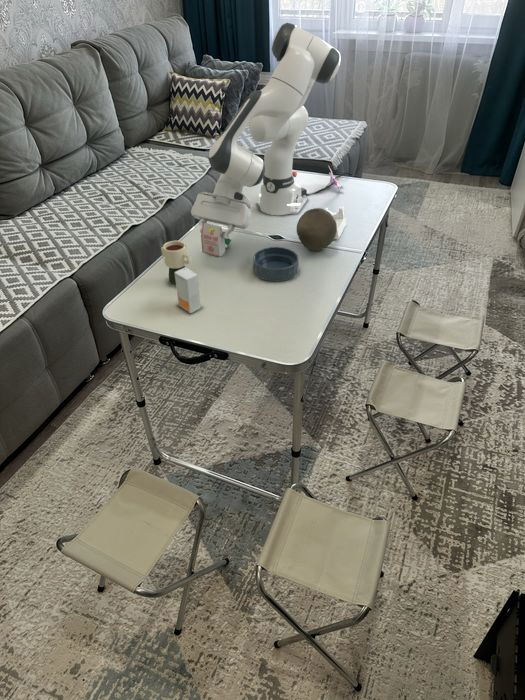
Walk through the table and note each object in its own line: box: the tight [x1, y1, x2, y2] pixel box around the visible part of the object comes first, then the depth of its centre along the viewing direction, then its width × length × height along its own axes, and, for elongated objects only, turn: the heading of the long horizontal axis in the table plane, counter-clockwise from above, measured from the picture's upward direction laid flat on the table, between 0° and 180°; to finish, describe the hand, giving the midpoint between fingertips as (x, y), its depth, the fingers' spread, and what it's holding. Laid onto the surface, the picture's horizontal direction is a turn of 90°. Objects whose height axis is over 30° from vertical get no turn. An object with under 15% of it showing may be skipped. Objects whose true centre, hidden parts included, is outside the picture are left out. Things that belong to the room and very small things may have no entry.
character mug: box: [160, 240, 191, 286], centre depth 162 cm, size 11×7×13 cm, turn 60°
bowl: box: [252, 246, 300, 282], centre depth 170 cm, size 15×15×5 cm
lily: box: [323, 166, 342, 193], centre depth 222 cm, size 12×12×10 cm
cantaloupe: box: [296, 207, 337, 252], centre depth 178 cm, size 14×14×15 cm
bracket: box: [323, 205, 347, 240], centre depth 191 cm, size 13×7×8 cm, turn 160°
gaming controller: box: [225, 235, 232, 251], centre depth 182 cm, size 9×4×6 cm
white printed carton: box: [200, 222, 226, 258], centre depth 167 cm, size 4×7×10 cm, turn 63°
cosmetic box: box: [175, 267, 202, 314], centre depth 151 cm, size 6×4×12 cm
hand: (213, 235), depth 167 cm, fingers closed on white printed carton, 7 cm apart
